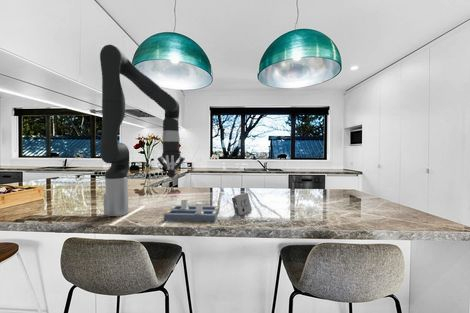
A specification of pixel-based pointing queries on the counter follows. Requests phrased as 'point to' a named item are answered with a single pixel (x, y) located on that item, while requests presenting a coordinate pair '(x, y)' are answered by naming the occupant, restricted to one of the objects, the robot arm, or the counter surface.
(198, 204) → the tab
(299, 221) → the counter surface
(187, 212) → the blue-grey compartment tray
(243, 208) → the electrical switch
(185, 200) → the tab
